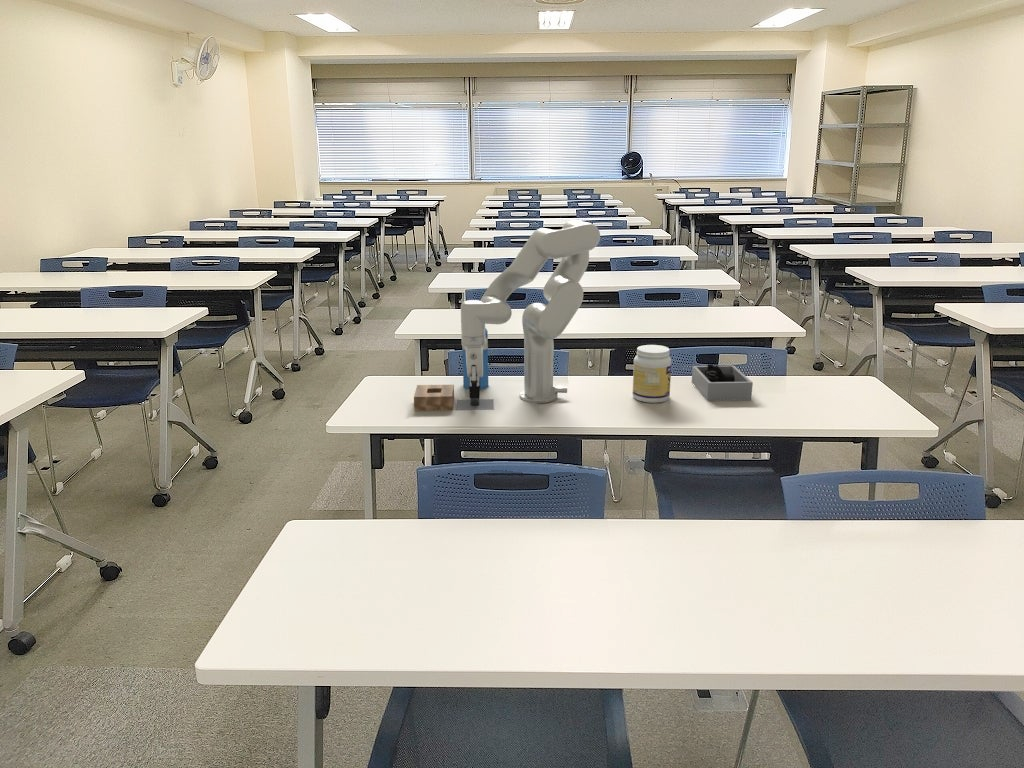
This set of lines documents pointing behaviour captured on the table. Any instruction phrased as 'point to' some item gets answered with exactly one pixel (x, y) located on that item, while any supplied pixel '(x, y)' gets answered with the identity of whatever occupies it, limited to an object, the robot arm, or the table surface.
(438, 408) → the socket block
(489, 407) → the mat
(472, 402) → the peg
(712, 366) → the film camera
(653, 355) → the supplement tub
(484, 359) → the water bottle
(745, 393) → the tray
